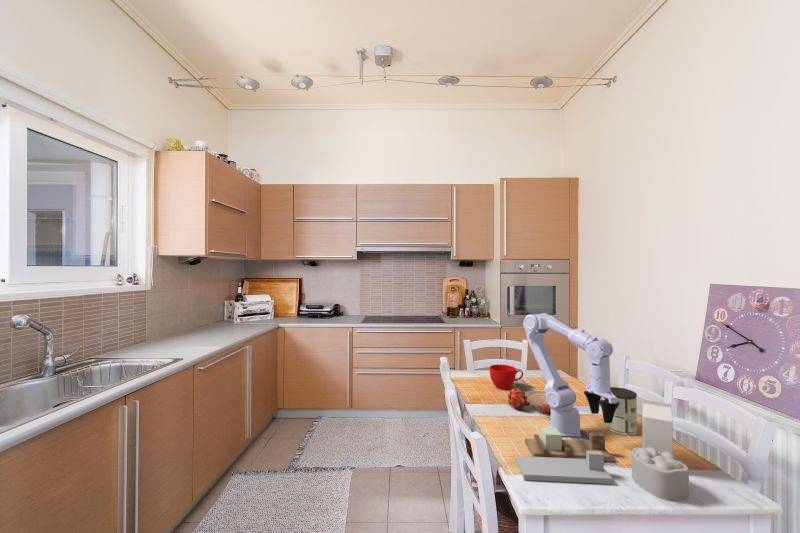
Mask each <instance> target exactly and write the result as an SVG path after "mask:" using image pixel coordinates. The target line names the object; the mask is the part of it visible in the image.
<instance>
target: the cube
mask: <svg viewBox="0 0 800 533" xmlns="http://www.w3.org/2000/svg"><path fill="white" fill-rule="evenodd" d="M540 439H541V440H542V442H543V443H544V445H545V446H546V448H547V450H556V451H562V440H563V436H562V435H561V433H560V432H559V431H558V430H557V429H556V428H548V427H540Z"/></svg>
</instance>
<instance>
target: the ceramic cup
mask: <svg viewBox="0 0 800 533" xmlns="http://www.w3.org/2000/svg"><path fill="white" fill-rule="evenodd" d="M519 372H520V373H521V375H520V376H519V377H518V378H516V375H517V373H519ZM489 375H490V379H491V382H492V384H493V385H494V386H495V388H497V389H498V388H500V389H499V390H509V389H510V388H511V387H512V386H513V384H514V383H515V382H517V381H519V380H521V379H522V378H523V376H524V372H523V370H522V369H517V368H516V367H515V366H513V365H509V364H491V365H490V366H489Z"/></svg>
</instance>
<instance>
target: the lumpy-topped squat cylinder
mask: <svg viewBox="0 0 800 533" xmlns="http://www.w3.org/2000/svg"><path fill="white" fill-rule="evenodd" d="M630 453H631V455H630V456H631V478H632V480H633V482H634V483H635V484H636V485H638V486H639V487H640V488H642V489H643V490H644V491H646V492H647V493H649V494H651V495H652V496H654V497H655V498H658V499H660V500H663V501H666V502H671V501H676V500H679V499H680V500H683V499H685V500H686V499H687V500H688V498H689V497H690V477H689V476H690V475H689V474H690V473H689V472H690V470H689V468H688V466H687V464H684V463H683V462H681V461H679V460H678V459H676V458H675V456H674V454H673V455H672V454H671V453H669V452H661V451H659V452H658V451H656V450H655V449H654V448H651V447H647V448H643V447H642V446H641V447H639V446H638V447H634V448H632V449H631V452H630Z"/></svg>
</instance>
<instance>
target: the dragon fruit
mask: <svg viewBox="0 0 800 533" xmlns="http://www.w3.org/2000/svg"><path fill="white" fill-rule="evenodd" d="M507 399H508V400H507V402H508V406H512V408H514V410H516V411H520V409H522V410H524V409H525V408H526V407H528V406H530V405H531V402H530V401H529V399H528V397H527V395H526V391H523V390H522V389H521V388H513V389H511V390H510V391H509V393H508V394H507Z"/></svg>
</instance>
